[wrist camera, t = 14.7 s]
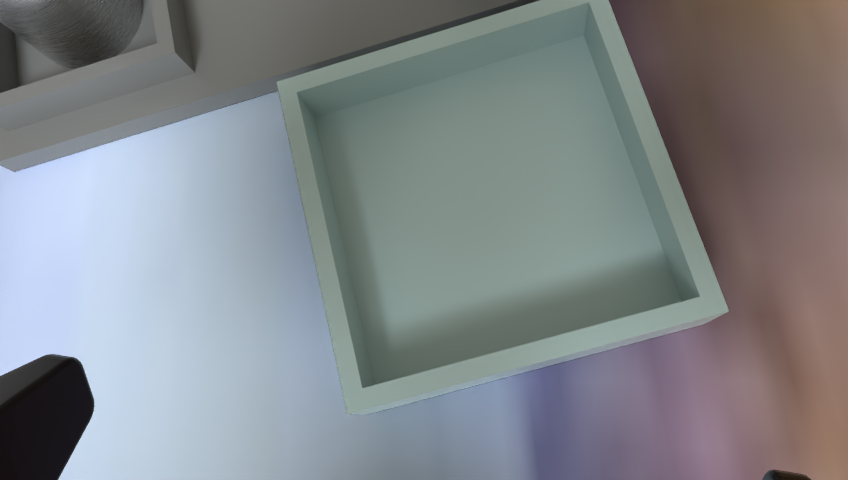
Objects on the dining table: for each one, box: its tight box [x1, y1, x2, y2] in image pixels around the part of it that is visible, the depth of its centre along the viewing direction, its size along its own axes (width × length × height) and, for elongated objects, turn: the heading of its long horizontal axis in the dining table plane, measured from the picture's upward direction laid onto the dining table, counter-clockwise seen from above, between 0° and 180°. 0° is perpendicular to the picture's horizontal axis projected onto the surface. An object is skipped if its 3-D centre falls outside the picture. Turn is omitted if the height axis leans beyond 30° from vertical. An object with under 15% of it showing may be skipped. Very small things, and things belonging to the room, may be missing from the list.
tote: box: [277, 0, 729, 414], centre depth 22 cm, size 11×11×3 cm
